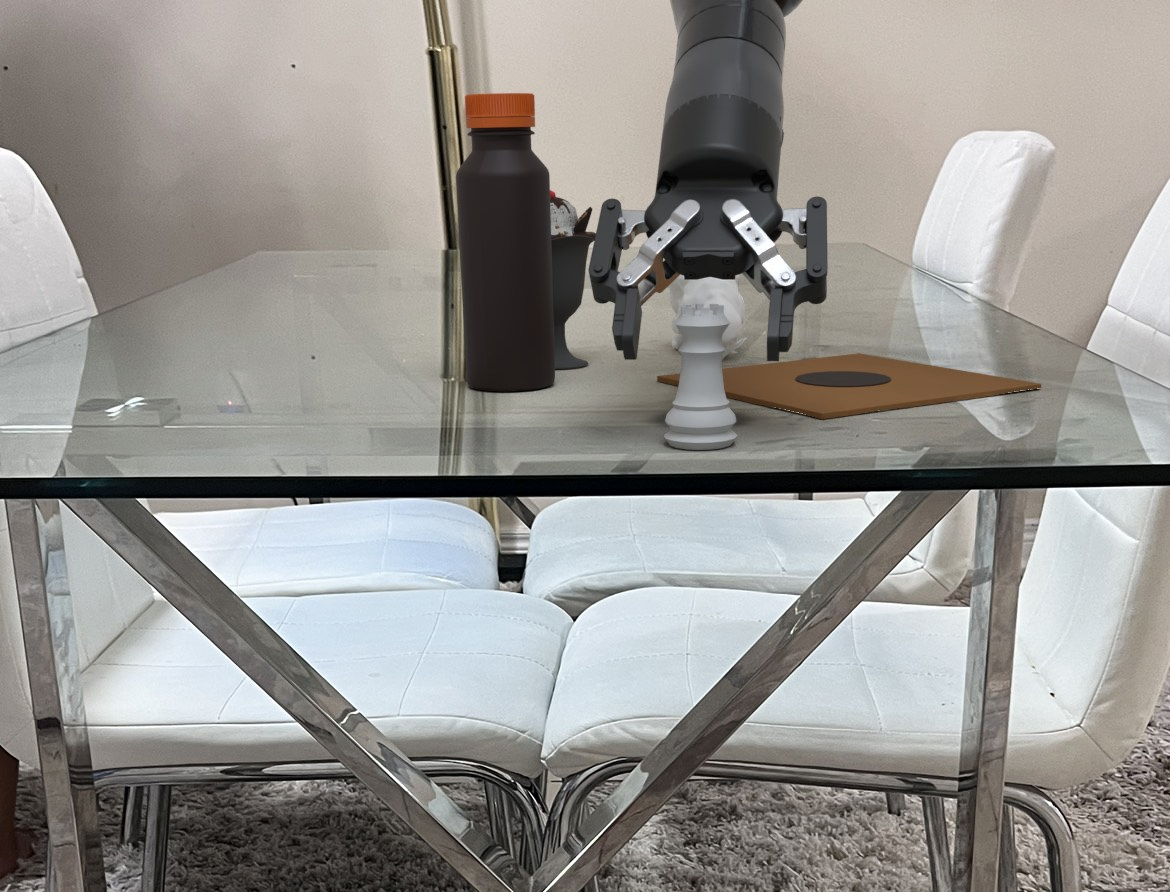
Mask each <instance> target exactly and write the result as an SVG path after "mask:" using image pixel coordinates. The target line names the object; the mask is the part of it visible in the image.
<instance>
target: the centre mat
mask: <svg viewBox="0 0 1170 892" xmlns="http://www.w3.org/2000/svg"><path fill="white" fill-rule="evenodd" d="M722 374H723V383H724V390H725V394H726V398H727V399H733V400H737V401H741V402H745V403H750V404H754V405H758V406H762V405H764V406H763V407H767V406H769V407H768V408H771V407H776V408H781V409H786V410H790V411H794V412H799V413H803V414H806V415H809V416H808V417H810V416H812V417H811V418H814V417H815V419H819V420H826V419H834V418H835V419H836V418H841V417H842V418H843V417H849V416H856V415H863V414H862V413H865V414H869V413H868V412H872V413H874V412H873V411H878V410H886V411H888V410H887V409H894V410H898V409H897V408H901V409H908V408H914V407H916V408H917V407H923V406H930V405H938V404H943V403H953V402H957V401H966V400H973V399H981V398H987V397H986V396H989V397H994V396H993V395H996V396H1000V395H999V394H1003V395H1006V394H1005V393H1008V392H1014V391H1020V390H1028V389H1029V390H1030V389H1037V388H1041V389H1042V383H1038V382H1034V381H1033V382H1032V381H1027V380H1020V379H1016V378H1009V377H1004V376H998V375H997V376H996V375H991V374H985V373H979V372H973V371H969V370H962V369H956V368H950V367H943V366H938V365H931V364H925V363H921V362H914V361H908V360H902V359H895V358H891V357H884V356H878V355H871V354H867V353H861V352H859V353H849V354H848V353H847V354H840V355H831V356H822V357H814V358H803V359H796V360H795V359H794V360H787V361H776V362H768V363H760V364H759V363H758V364H752V365H751V364H750V365H742V366H733V367H724V368H723V367H722ZM679 379H680V372H679V373H670V374H662V375H661V374H660V375H657V376H656V382H659V383H664V384H669V385H672V386H676V387H678V386H679ZM980 397H981V398H980ZM937 403H938V404H937ZM806 415H805V416H806Z"/></svg>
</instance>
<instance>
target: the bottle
mask: <svg viewBox="0 0 1170 892" xmlns="http://www.w3.org/2000/svg"><path fill="white" fill-rule="evenodd" d="M535 102H536V101H535V94H534V93H532V92H531V93H530V92H498V93H497V92H496V93H472V94H471V93H470V94H466V95H464V105H465V106H464V108H465V126H466V129H470V132H467V137H471V138H470V139H471V151H470V153H469V154H468V155H467V157H466V159H465V160H464V161H463V162H462V164H461V165H460V166H459V168H458V169H457V171H456V174H455V188H456V189H455V190H456V204H457V205H456V207H457V209H456V210H457V224H458V226H457V227H458V244H459V247H458V248H459V263H460V264H459V265H460V281H461V282H460V283H461V284H460V285H461V301H462V316H463V317H462V319H463V341H464V358H465V359H464V361H465V375H466V377H465V378H466V384H467V385H468V386H469V387H470V388H472V389H474V390H478V391H485V392H501V393H502V392H503V393H504V392H505V393H506V392H507V393H509V392H526V391H535V390H540V389H544V388H548V387H550V386H552V385H553V384H554V383H555V379H556V370H555V358H554V321H553V284H552V247H551V211H550V190H551V181H550V179H551V178H550V177H551V176H550V171H549V168H548V167H547V166H546V164H545V163H543V161H542V160H541V159H540V158H539V157H538V155H536V153H535V152H534V151H533V150H532V136H533V135H535V134H536V133H535V131H534V130H532V128H536V107H535V105H536V103H535Z"/></svg>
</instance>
